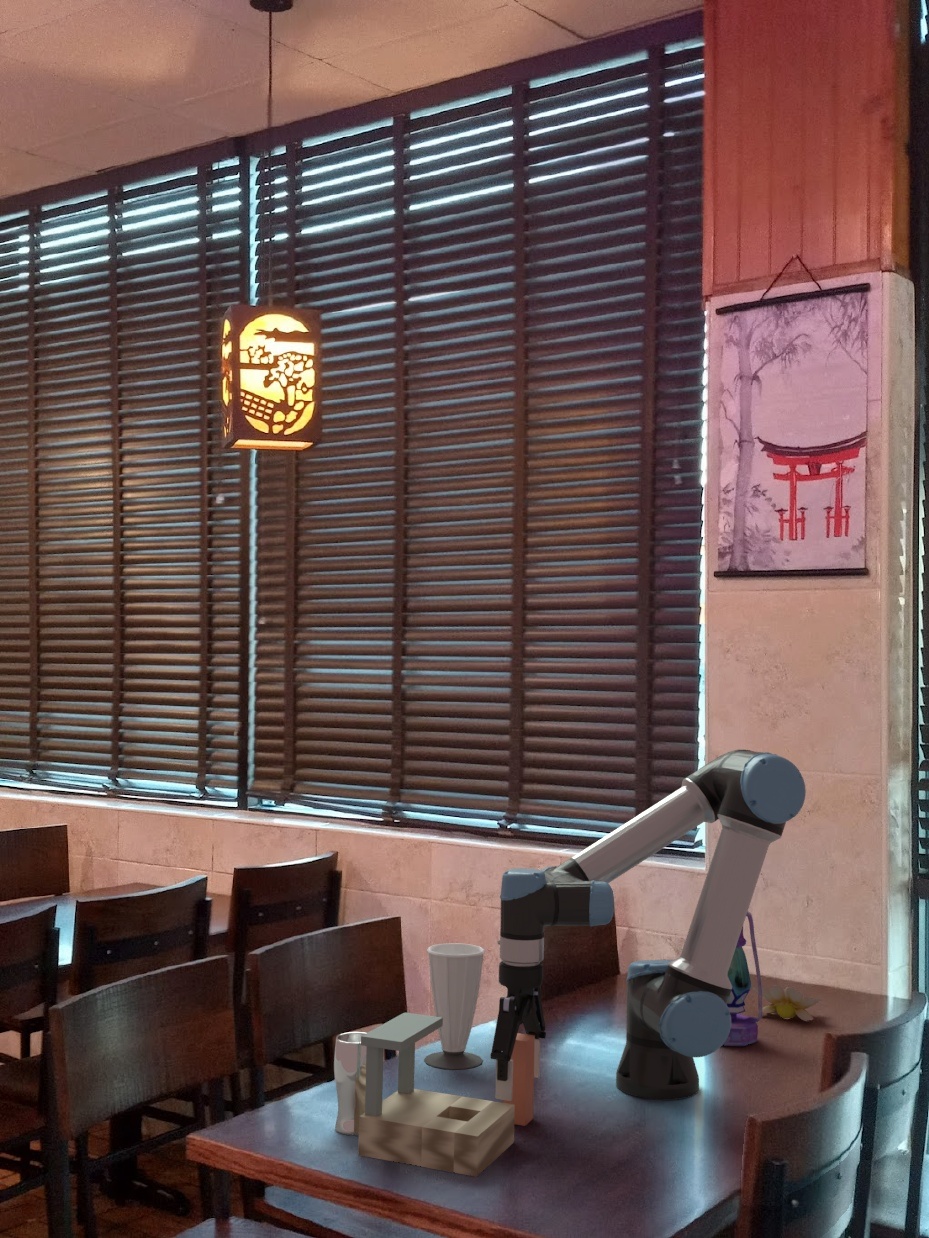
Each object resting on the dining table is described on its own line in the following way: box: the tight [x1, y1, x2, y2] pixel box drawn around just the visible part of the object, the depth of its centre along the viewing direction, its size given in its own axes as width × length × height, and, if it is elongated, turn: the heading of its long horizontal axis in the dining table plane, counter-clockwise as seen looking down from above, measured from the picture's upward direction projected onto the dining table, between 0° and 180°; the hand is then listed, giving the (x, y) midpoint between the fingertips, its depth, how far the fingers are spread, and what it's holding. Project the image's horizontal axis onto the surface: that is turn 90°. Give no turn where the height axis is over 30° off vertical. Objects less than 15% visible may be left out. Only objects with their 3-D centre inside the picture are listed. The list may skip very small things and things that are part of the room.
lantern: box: [722, 911, 763, 1047], centre depth 274 cm, size 13×12×30 cm
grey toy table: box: [361, 1012, 443, 1117], centre depth 212 cm, size 7×16×12 cm, turn 157°
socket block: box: [357, 1088, 515, 1178], centre depth 209 cm, size 20×16×6 cm
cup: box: [423, 942, 486, 1071], centre depth 256 cm, size 12×12×22 cm
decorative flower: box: [751, 984, 823, 1022], centre depth 293 cm, size 15×11×10 cm
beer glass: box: [333, 1031, 367, 1136], centre depth 217 cm, size 7×7×15 cm
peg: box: [502, 1032, 535, 1127], centre depth 223 cm, size 4×4×14 cm
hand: (518, 1087), depth 223 cm, fingers open, 13 cm apart
